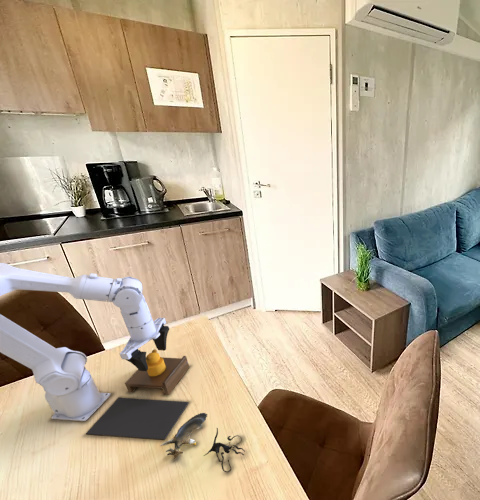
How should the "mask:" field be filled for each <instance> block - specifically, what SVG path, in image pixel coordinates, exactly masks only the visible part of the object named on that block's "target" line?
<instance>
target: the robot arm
mask: <svg viewBox="0 0 480 500" xmlns="http://www.w3.org/2000/svg"><path fill="white" fill-rule="evenodd" d="M16 290H20V291H21V290H22V291H36V292H37V291H38V292H52V293H53V292H54V293H66V294H67V293H68V294H70V295H71V296H72V297H73V298H74V299H76V300H85V301H93V302H94V301H96V302H107V303H112V304H113V305H114V306H115V307H117V308H119V310H120V314H121V318H122V319H123V323H124V325H125V327H126V329H127V331H128V335H129V340H128V341H127V343H126V344H125V346H124V348H123V349H122V350H121V351H120V352H119V356H120V358H121V360H125V361H127V362H128V363H131V364H132V365H133V367H135V368H136V369H137V370H139V371H147V370H148V365H147V362H146V357H147V351H141V349H140V348H141V347H143V346H144V345H146V344H147V343H149V342H150V341H153V343H154V345H155V347H156V350H157V351H163V352H164V351H166V350H167V338H168V334H169V331H170V327H169V326H168V325H166V324H167V321H166V318H165V317H157V318H155V320H154V319H153V316H152V314H151V311H150V308H149V305H148V302H147V301H146V298H145V296H144V294H143V283H142V282H141V280H140V279H138V278H136V277H132V276H123V277H121V278H120V277H117V278H112V277H111V278H110V277H105V276H99V275H98V273H93V272H91V273H89V274H85V273H84V274H80V275H79V276H76V277H71V276H66V275H59V274H55V273H48V272H42V271H37V270H31V269H26V268H21V267H16V266H13V265H10V264H8V263H6V262H0V297H2V296H4V295H6V294H8V293H12V292H14V291H16ZM0 353H1V354H2V355H5V356H6V357H8V358H10V359H12V360H13V361H16V362H17V363H19V364H21V365H23V366H24V367H26V368H28V369H30V370H31V371H32V374H33V378H34V381H35V383H36V384H37V385H39V386H41V387H42V388H43V391H44V392H45V393H44V399H45V401H46V403H47V404H48V406H49V407H50V409H51V410H52V412H53V415H52V416H51V417H50V418H51V419H52V420H61V421H77V422H86V421H88V420H89V419H90V417H91V416H93V414H94V413H95V412H96V411H97V410H98V409H99V408H100V407H101V406H102V405H103V404H104V403H105V402H106V401H107V399H109V398H110V397H111V395H112V394H111V393H110V392H101V391H100V390H99V388H98V386H97V384H96V382H95V380H94V378H93V376H92V374H91V372H90V371H89V370H88V369H87V368H86V364H87V362H88V357H87V355H86V354H85V353H84V352H82V351H79V350H73V349H70V348H69V347H66V346H62V347H57V348H56V347H54V346H53V345H52V344H50V343H48V342H46V341H45V340H43V339H41V338H40V337H38V336H37V335H35V334H33V333H32V332H30V331H29V330H27V329H25V328H24V327H22V326H21V325H19V324H17V323H15V321H12V320H11V319H10V318H8V317H6V316H4V315H2V314H1V313H0Z"/></svg>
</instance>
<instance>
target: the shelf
mask: <svg viewBox="0 0 480 500" xmlns="http://www.w3.org/2000/svg"><path fill="white" fill-rule="evenodd" d="M161 357H162V358H163V360H164V363H165V366H166V369H165V371H164V372H163V373H161V374H160V375H157V376H149V375H148V372H147V371H139V370H138V369H136V371H135V372H134V373H132V375H131V376H130V377H129V378H128V379H127V380H126V381H125V382H124V386H125V388H126V390H127V392H128V393H134V391H135V390H136V389H137V388H149V389H151V388H152V389H162V391H163V393H164V395H165V396H170V395H171V393H172V391H173V390H174V389H175V388H176V387H177V385H178V384H179V382H180V381H181V379H182V378H183V377H184V375H185V374H186V372H188V370H189V369H190V365H189V360H188V358H187V356H186V355H183V356H182V357H164V356H161Z"/></svg>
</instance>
